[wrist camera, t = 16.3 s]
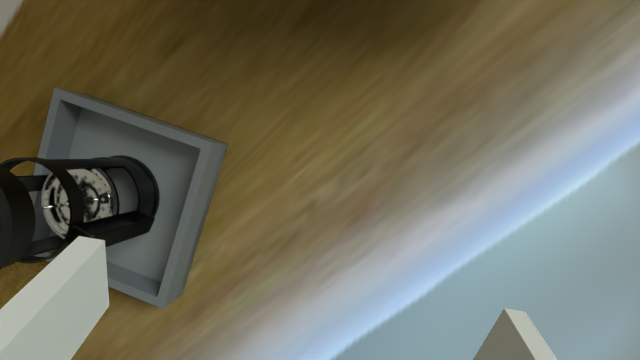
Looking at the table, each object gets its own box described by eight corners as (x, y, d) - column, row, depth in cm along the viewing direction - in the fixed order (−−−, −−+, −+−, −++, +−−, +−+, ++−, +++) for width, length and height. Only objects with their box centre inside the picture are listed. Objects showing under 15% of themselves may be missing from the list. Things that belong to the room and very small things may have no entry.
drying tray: (83, 93, 42) (54, 87, 38) (227, 144, 40) (212, 142, 36) (47, 239, 44) (15, 248, 40) (182, 294, 42) (162, 308, 38)
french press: (71, 209, 42) (-275, 271, 19) (99, 139, 41) (-233, 117, 18) (153, 255, 41) (-112, 377, 18) (185, 184, 40) (-56, 221, 17)
